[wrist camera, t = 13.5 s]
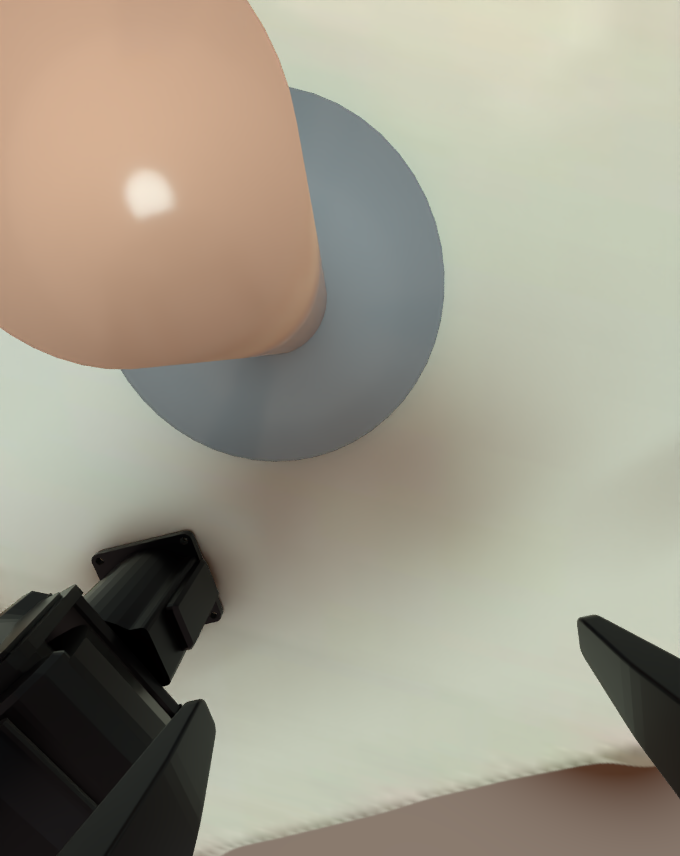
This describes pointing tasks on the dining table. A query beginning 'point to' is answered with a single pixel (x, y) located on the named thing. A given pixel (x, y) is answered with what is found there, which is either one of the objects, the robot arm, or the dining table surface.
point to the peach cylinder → (151, 185)
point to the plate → (328, 311)
